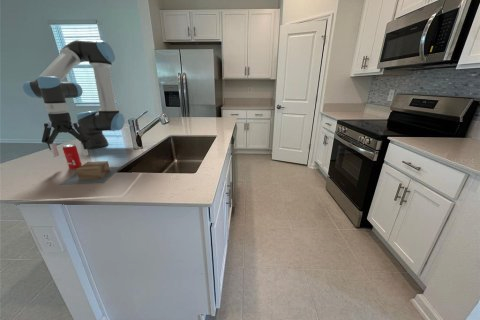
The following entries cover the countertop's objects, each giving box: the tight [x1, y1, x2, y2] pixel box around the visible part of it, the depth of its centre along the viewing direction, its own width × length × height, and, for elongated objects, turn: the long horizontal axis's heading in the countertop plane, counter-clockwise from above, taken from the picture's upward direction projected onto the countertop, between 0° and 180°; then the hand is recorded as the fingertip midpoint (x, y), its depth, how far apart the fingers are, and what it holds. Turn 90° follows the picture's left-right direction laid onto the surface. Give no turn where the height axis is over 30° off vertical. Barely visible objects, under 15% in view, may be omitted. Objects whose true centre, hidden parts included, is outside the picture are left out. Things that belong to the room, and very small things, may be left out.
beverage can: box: [62, 144, 83, 170], centre depth 100 cm, size 5×5×12 cm
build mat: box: [58, 166, 122, 186], centre depth 94 cm, size 18×18×1 cm
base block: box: [75, 160, 110, 180], centre depth 93 cm, size 9×9×5 cm
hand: (71, 155), depth 99 cm, fingers open, 13 cm apart
